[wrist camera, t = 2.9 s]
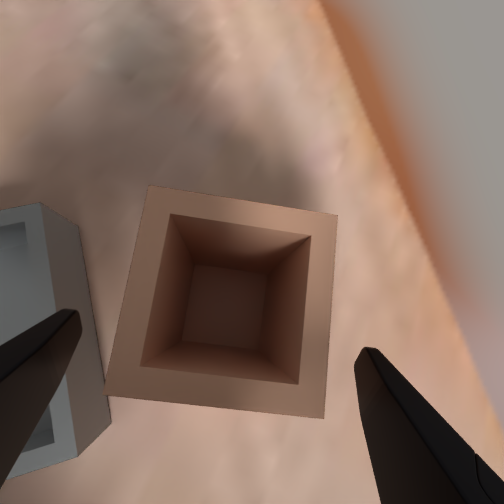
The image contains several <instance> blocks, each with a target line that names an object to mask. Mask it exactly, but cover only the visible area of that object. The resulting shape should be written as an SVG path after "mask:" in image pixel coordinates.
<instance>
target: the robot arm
mask: <svg viewBox="0 0 504 504" xmlns="http://www.w3.org/2000/svg"><path fill="white" fill-rule="evenodd" d="M82 331H83V327H82V322H81V318H80V313H79V311H78V310H76V309H68V308H64V309H61V310H59V311H58V312H56V313H54V314H52V315H51V316H49V317H47V318H46V319H44V320H42V321H41V322H39V323H37V324H36V325H34V326H32V327H30V328H29V329H27V330H25V331H24V332H22V333H20V334H19V335H17V336H15V337H14V338H12V339H10V340H8V341H7V342H5V343H3V344H2V345H0V489H1V487H2V485H3V484H4V482H5V480H6V478H7V477H8V475H9V473H10V471H11V470H12V468H13V466H14V464H15V463H16V461H17V459H18V457H19V456H20V454H21V452H22V450H23V449H24V447H25V445H26V443H27V442H28V440H29V438H30V436H31V435H32V433H33V431H34V429H35V427H36V426H37V424H38V422H39V420H40V419H41V417H42V415H43V413H44V412H45V410H46V408H47V406H48V405H49V403H50V401H51V399H52V398H53V396H54V394H55V392H56V391H57V389H58V387H59V385H60V383H61V381H62V379H63V377H64V375H65V372H66V370H67V368H68V365H69V363H70V361H71V358H72V356H73V354H74V352H75V349H76V347H77V345H78V342H79V340H80V338H81V335H82ZM354 372H355V380H356V387H357V395H358V403H359V410H360V416H361V421H362V426H363V430H364V434H365V438H366V442H367V447H368V451H369V455H370V459H371V463H372V468H373V472H374V476H375V480H376V484H377V489H378V493H379V497H380V501H381V504H504V481H503V480H502V479H501V478H500V477H499V476H498V475H497V474H496V473H495V472H494V471H493V470H492V469H491V468H490V467H489V466H488V465H487V464H486V463H485V462H484V461H483V459H482V458H481V457H480V456H479V455H478V454H475V452H474V450H473V449H472V448H471V447H470V446H469V445H468V444H467V443H466V442H465V441H464V440H463V438H462V437H461V436H460V435H459V434H458V433H457V432H456V431H455V430H454V429H453V428H452V427H451V426H450V425H449V424H448V423H447V422H446V420H445V419H444V418H443V417H442V416H441V415H440V414H439V413H438V412H437V411H436V410H435V409H434V408H433V407H432V406H431V405H430V404H429V403H428V401H427V400H426V399H425V398H424V397H423V396H422V395H421V394H420V393H419V392H418V391H417V390H416V389H415V388H414V387H413V386H412V385H411V384H410V382H409V381H408V380H407V379H406V378H405V377H404V376H403V375H402V374H401V373H400V372H399V371H398V370H397V369H396V368H395V367H394V366H393V365H392V363H391V362H390V361H389V360H388V359H387V358H386V357H385V356H384V355H383V354H382V353H381V352H380V351H379V350H378V349H376V348H372V347H364V348H363V349H362V350H361V352H360V354H359V356H358V358H357V359H356V361H355V364H354Z"/></svg>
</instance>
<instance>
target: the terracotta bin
mask: <svg viewBox="0 0 504 504" xmlns="http://www.w3.org/2000/svg"><path fill="white" fill-rule="evenodd" d="M337 220H338V215H333V214H327V213H320V212H314V211H308V210H302V209H296V208H289V207H283V206H277V205H271V204H265V203H258V202H252V201H246V200H240V199H233V198H227V197H221V196H215V195H209V194H202V193H196V192H190V191H184V190H177V189H171V188H165V187H159V186H153V185H149V186H148V190H147V195H146V199H145V204H144V208H143V213H142V217H141V222H140V226H139V231H138V235H137V240H136V244H135V249H134V253H133V258H132V262H131V267H130V271H129V276H128V280H127V285H126V290H125V294H124V299H123V303H122V308H121V312H120V317H119V321H118V326H117V330H116V335H115V339H114V344H113V348H112V353H111V357H110V362H109V366H108V371H107V375H106V380H105V384H104V389H103V393H102V395H107V396H116V397H125V398H134V399H144V400H153V401H162V402H171V403H180V404H190V405H199V406H208V407H217V408H227V409H236V410H245V411H254V412H263V413H273V414H282V415H291V416H300V417H309V418H319V419H324V412H325V397H326V382H327V368H328V353H329V338H330V323H331V308H332V294H333V279H334V264H335V249H336V235H337Z"/></svg>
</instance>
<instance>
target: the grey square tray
mask: <svg viewBox="0 0 504 504" xmlns="http://www.w3.org/2000/svg"><path fill="white" fill-rule="evenodd" d="M64 308H68V309H76V310H78V311H79V313H80V318H81V322H82V327H83V331H82V335H81V338H80V340H79V342H78V345H77V347H76V349H75V352H74V354H73V356H72V358H71V361H70V363H69V365H68V368H67V370H66V372H65V375H64V377H63V379H62V381H61V383H60V385H59V387H58V389H57V391H56V392H55V394H54V396H53V398H52V399H51V401H50V403H49V405H48V406H47V408H46V410H45V412H44V413H43V415H42V417H41V419H40V420H39V422H38V424H37V426H36V427H35V429H34V431H33V433H32V435H31V436H30V438H29V440H28V442H27V443H26V445H25V447H24V449H23V450H22V452H21V454H20V456H19V457H18V459H17V461H16V463H15V464H14V466H13V468H12V470H11V471H10V473H9V475H8V477H7V478H6V480H7V479H10V478H14V477H17V476H20V475H23V474H26V473H29V472H32V471H35V470H38V469H41V468H44V467H48V466H51V465H54V464H57V463H60V462H63V461H66V460H69V459H72V458H75V457H78V456H79V455H80V454H81V453H82V452H83V451H84V450H85V449H86V448H87V447H88V446H89V445H90V444H91V443H92V442H93V441H94V440H95V439H96V438H97V437H98V436H99V435H100V434H101V433H102V432H103V431H104V430H105V429H106V428H107V427H108V426H109V425H110V424H111V418H110V412H109V406H108V400H107V395H102V393H103V389H104V384H105V382H104V376H103V371H102V365H101V359H100V353H99V347H98V341H97V335H96V329H95V323H94V317H93V312H92V306H91V300H90V294H89V288H88V282H87V276H86V270H85V264H84V258H83V252H82V247H81V241H80V235H79V229H78V226H77V225H75V224H74V223H72V222H70V221H69V220H67V219H66V218H64V217H62V216H61V215H59V214H58V213H56V212H54V211H53V210H51V209H50V208H48V207H47V206H45V205H43V204H42V203H35V204H30V205H25V206H20V207H14V208H9V209H4V210H0V345H2V344H3V343H5V342H7V341H8V340H10V339H12V338H14V337H15V336H17V335H19V334H20V333H22V332H24V331H25V330H27V329H29V328H30V327H32V326H34V325H36V324H37V323H39V322H41V321H42V320H44V319H46V318H47V317H49V316H51V315H52V314H54V313H56V312H58V311H59V310H61V309H64Z"/></svg>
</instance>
